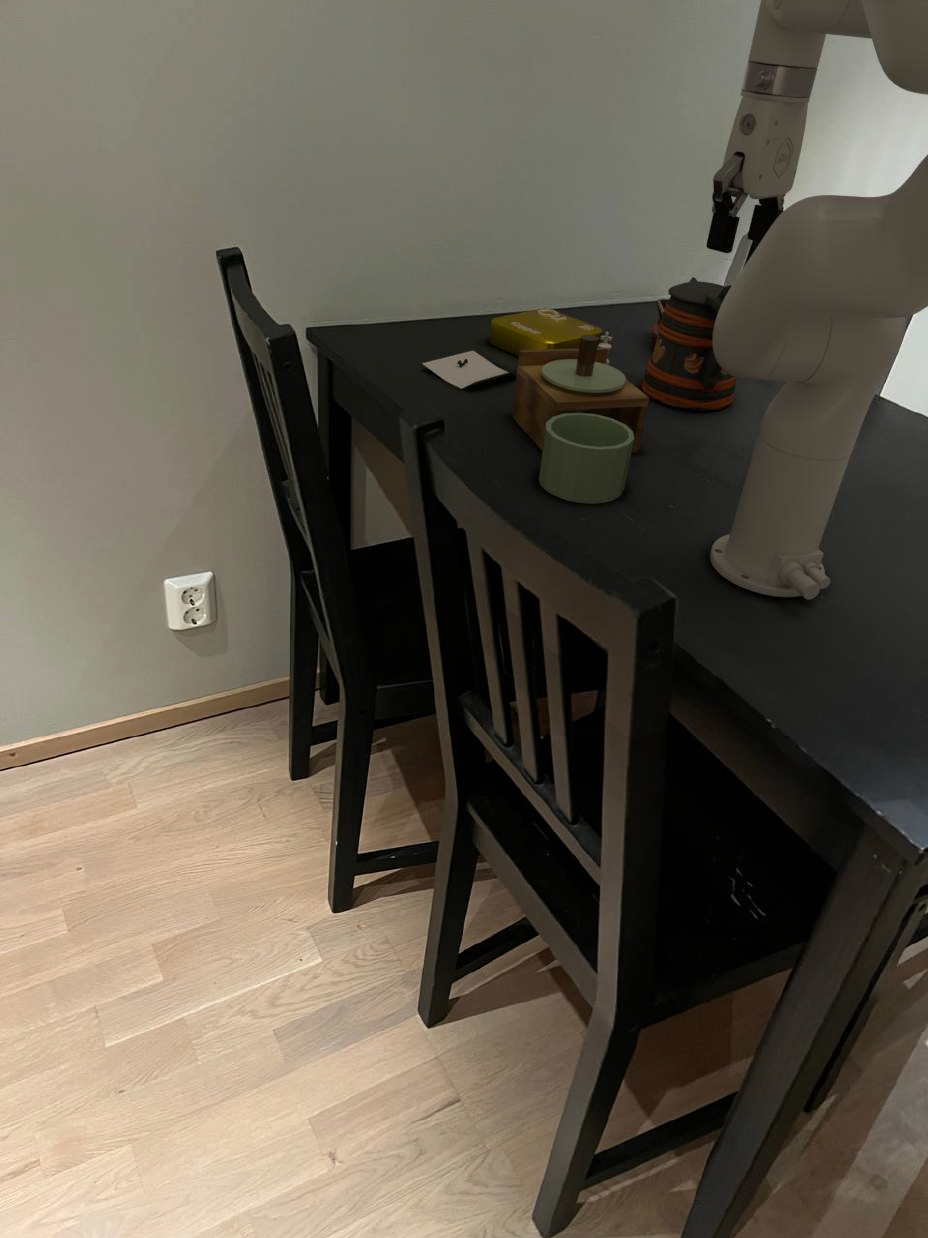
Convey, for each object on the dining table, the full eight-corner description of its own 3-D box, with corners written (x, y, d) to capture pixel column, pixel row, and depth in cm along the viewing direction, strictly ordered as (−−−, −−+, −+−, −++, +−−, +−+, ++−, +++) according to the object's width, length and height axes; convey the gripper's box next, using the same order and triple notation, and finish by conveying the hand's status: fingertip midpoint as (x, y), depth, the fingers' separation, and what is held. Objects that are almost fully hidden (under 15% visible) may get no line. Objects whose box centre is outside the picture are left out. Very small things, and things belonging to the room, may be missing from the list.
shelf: (638, 452, 128) (652, 383, 122) (549, 458, 124) (559, 387, 118) (595, 412, 139) (606, 347, 133) (511, 416, 135) (519, 349, 129)
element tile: (484, 343, 162) (486, 315, 159) (542, 330, 171) (546, 303, 168) (545, 369, 153) (549, 340, 150) (603, 354, 162) (608, 327, 159)
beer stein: (760, 424, 140) (797, 291, 129) (671, 424, 137) (701, 288, 126) (710, 379, 155) (740, 256, 144) (629, 378, 153) (652, 253, 141)
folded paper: (472, 356, 155) (473, 345, 154) (525, 378, 149) (526, 366, 148) (420, 370, 148) (421, 358, 147) (473, 394, 141) (474, 381, 140)
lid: (639, 395, 124) (647, 350, 121) (560, 398, 121) (567, 353, 117) (602, 365, 133) (609, 322, 130) (528, 367, 130) (533, 324, 126)
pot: (638, 499, 116) (649, 445, 112) (558, 506, 113) (567, 451, 108) (601, 462, 124) (610, 410, 120) (526, 467, 121) (532, 414, 117)
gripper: (770, 88, 94) (729, 261, 104) (843, 87, 105) (800, 244, 115) (707, 79, 98) (674, 247, 108) (784, 79, 109) (747, 231, 119)
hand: (739, 245), depth 111 cm, fingers open, 9 cm apart
